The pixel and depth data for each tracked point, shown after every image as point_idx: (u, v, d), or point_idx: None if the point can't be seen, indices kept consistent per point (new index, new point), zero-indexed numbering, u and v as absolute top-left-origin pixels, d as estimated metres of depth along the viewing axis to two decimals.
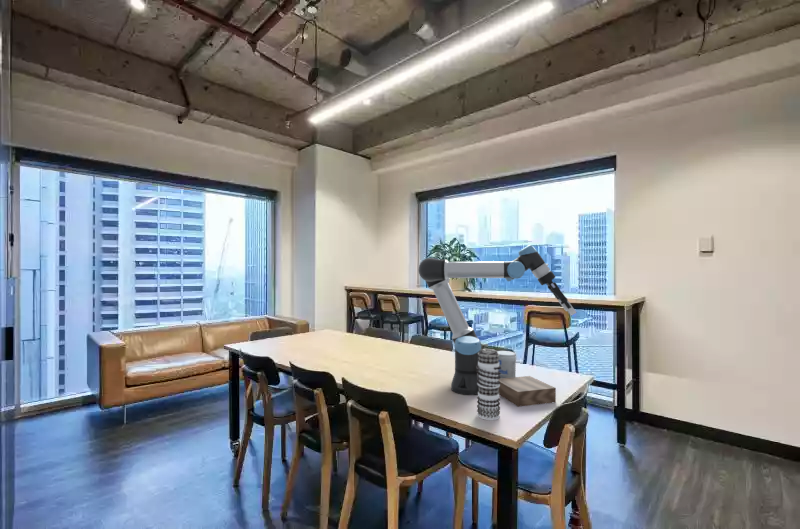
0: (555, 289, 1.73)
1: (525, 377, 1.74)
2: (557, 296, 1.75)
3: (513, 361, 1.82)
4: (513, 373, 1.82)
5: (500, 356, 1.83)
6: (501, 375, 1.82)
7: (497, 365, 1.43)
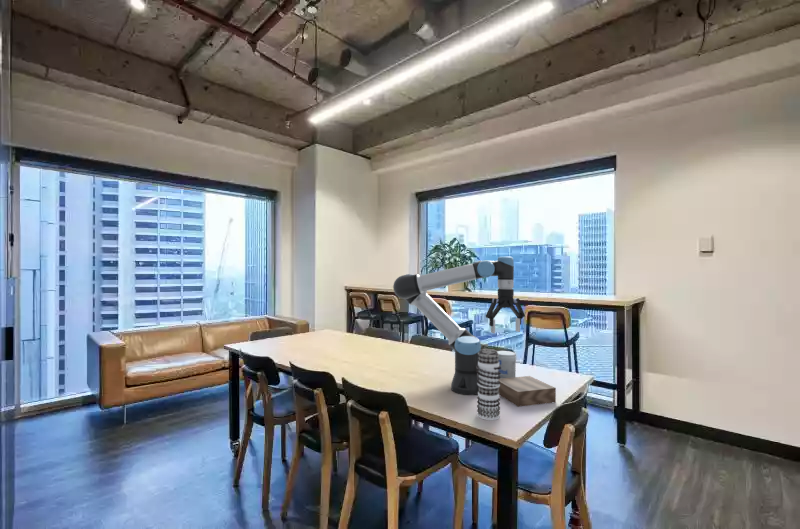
0: (491, 304, 1.84)
1: (525, 377, 1.74)
2: (494, 311, 1.85)
3: (513, 361, 1.82)
4: (513, 373, 1.82)
5: (500, 356, 1.83)
6: (501, 375, 1.82)
7: (497, 365, 1.43)
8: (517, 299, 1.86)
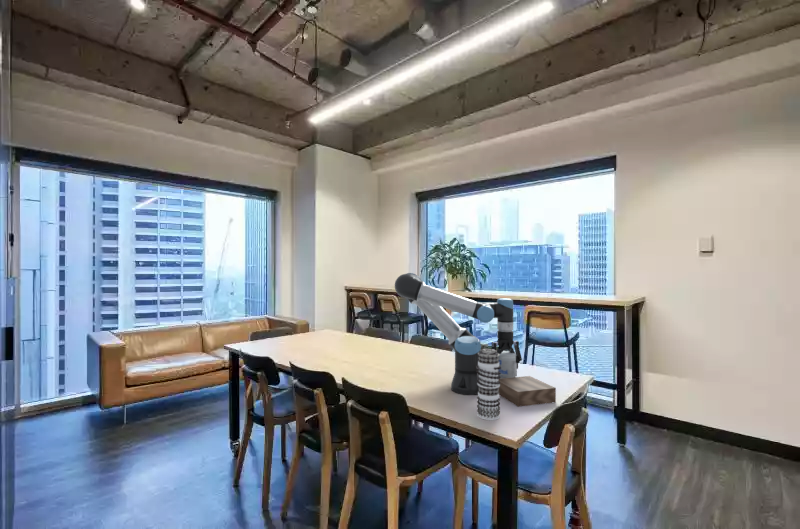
0: (492, 348, 1.84)
1: (525, 377, 1.74)
2: None
3: (513, 361, 1.82)
4: (513, 373, 1.82)
5: (500, 356, 1.83)
6: (501, 375, 1.82)
7: (497, 365, 1.43)
8: (517, 342, 1.86)
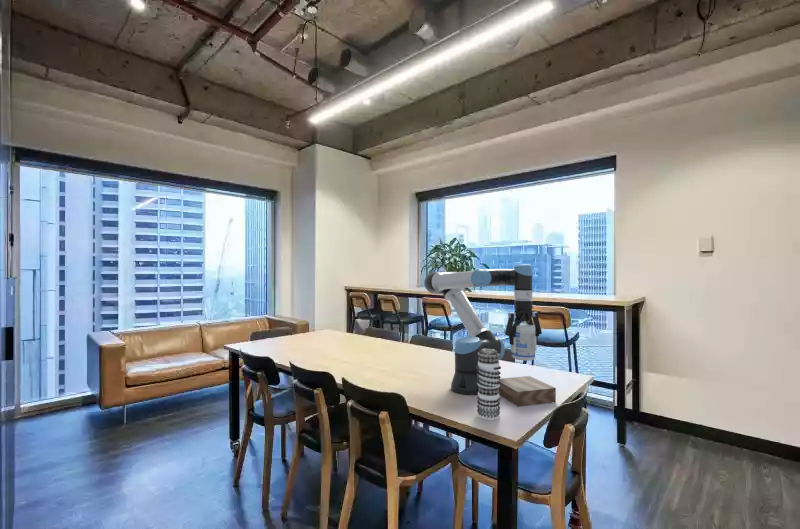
0: (509, 320, 1.65)
1: (525, 377, 1.74)
2: None
3: (533, 333, 1.63)
4: (533, 347, 1.63)
5: (518, 328, 1.63)
6: (519, 349, 1.63)
7: (497, 365, 1.43)
8: (536, 313, 1.67)
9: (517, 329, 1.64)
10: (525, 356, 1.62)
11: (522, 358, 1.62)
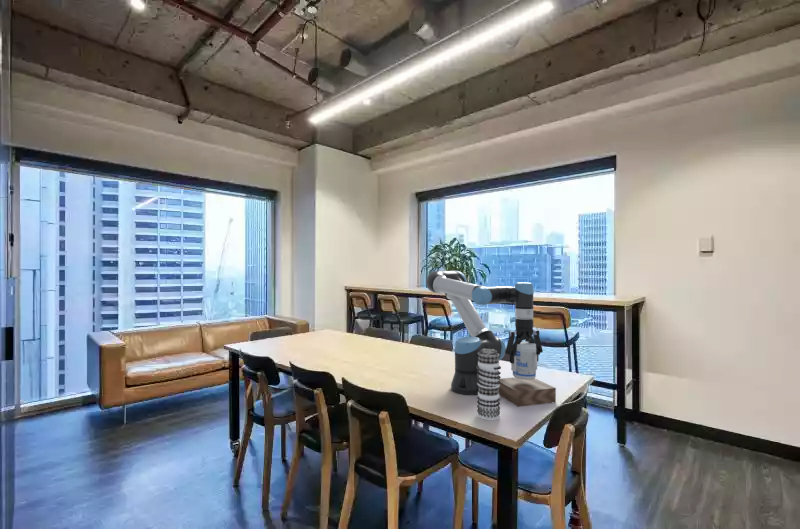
0: (509, 338, 1.64)
1: None
2: None
3: (533, 352, 1.62)
4: (533, 366, 1.62)
5: (519, 347, 1.62)
6: (520, 368, 1.62)
7: (497, 365, 1.43)
8: (537, 331, 1.66)
9: (518, 348, 1.63)
10: (526, 375, 1.61)
11: (523, 377, 1.61)
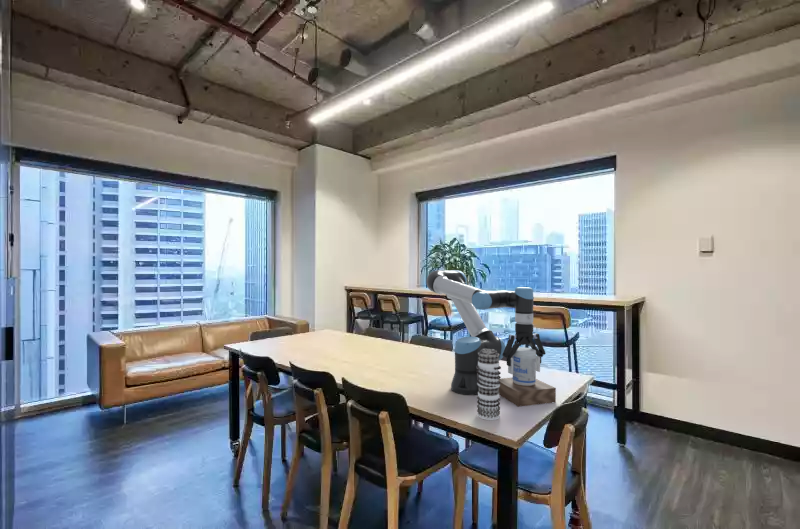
0: (509, 341, 1.64)
1: None
2: None
3: (533, 359, 1.62)
4: (533, 372, 1.62)
5: (519, 353, 1.63)
6: (520, 374, 1.62)
7: (497, 365, 1.43)
8: (537, 335, 1.66)
9: (518, 354, 1.63)
10: (526, 382, 1.61)
11: (523, 383, 1.61)
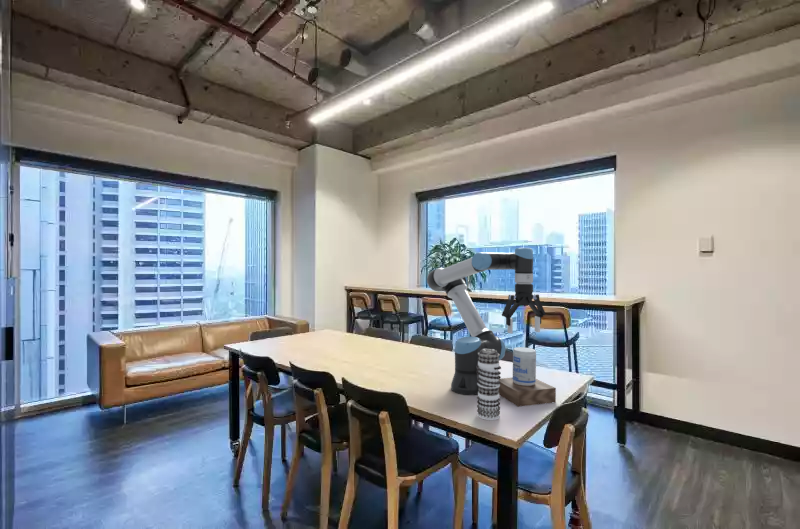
0: (508, 301, 1.64)
1: None
2: (511, 309, 1.66)
3: (533, 359, 1.62)
4: (533, 372, 1.62)
5: (519, 353, 1.63)
6: (520, 374, 1.62)
7: (497, 365, 1.43)
8: (537, 295, 1.66)
9: (518, 354, 1.63)
10: (526, 382, 1.61)
11: (523, 383, 1.61)
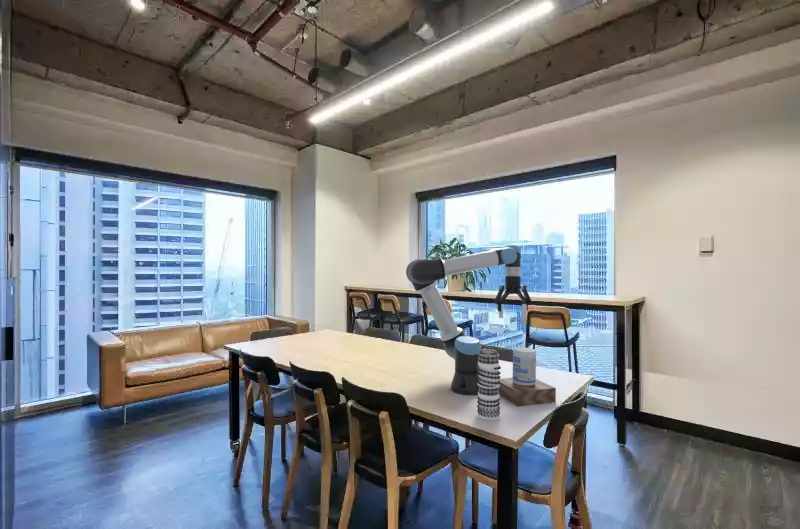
0: (499, 290, 1.92)
1: None
2: None
3: (533, 359, 1.62)
4: (533, 372, 1.62)
5: (519, 353, 1.63)
6: (520, 374, 1.62)
7: (497, 365, 1.43)
8: (524, 286, 1.94)
9: (518, 354, 1.63)
10: (526, 382, 1.61)
11: (523, 383, 1.61)
